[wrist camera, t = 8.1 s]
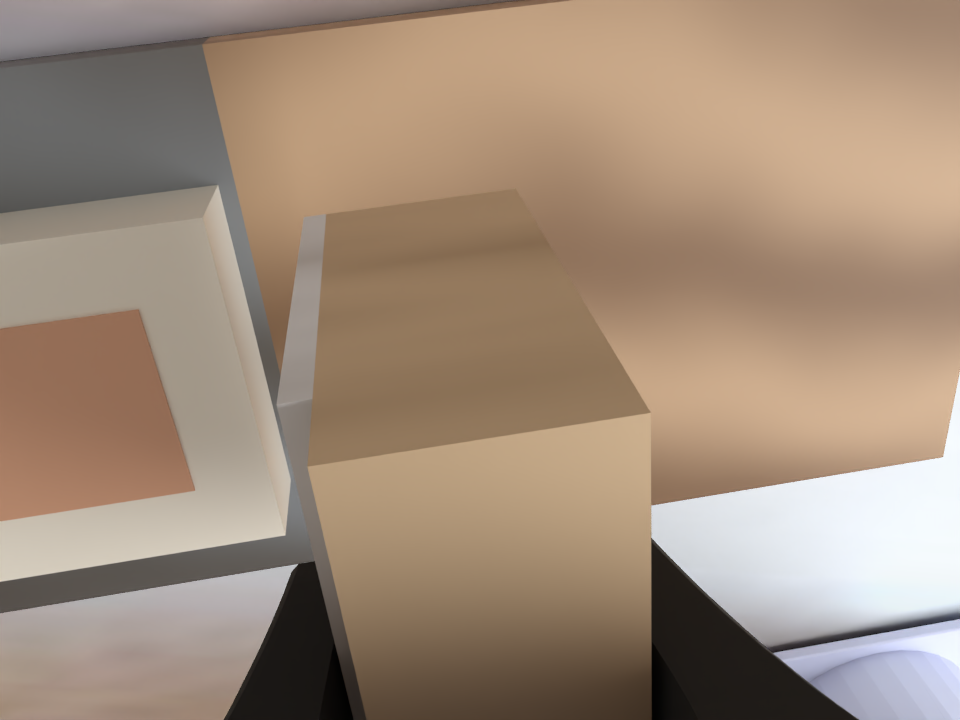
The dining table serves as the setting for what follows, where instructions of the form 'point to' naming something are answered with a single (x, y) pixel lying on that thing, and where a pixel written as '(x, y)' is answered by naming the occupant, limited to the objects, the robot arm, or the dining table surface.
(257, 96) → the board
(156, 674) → the dining table surface
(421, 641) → the light wood block
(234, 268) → the tile
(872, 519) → the dining table surface
